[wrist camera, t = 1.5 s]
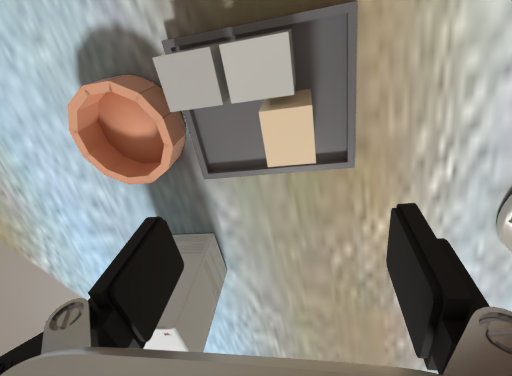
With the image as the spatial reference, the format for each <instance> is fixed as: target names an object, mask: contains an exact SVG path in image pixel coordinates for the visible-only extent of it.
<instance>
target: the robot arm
mask: <svg viewBox="0 0 512 376" xmlns="http://www.w3.org/2000/svg"><path fill="white" fill-rule="evenodd" d="M497 232H498V236H499V237H500V239H501V241H502V243H503V244H504V245H505V246H506V247H507V248H508V249H509V251H511V252H512V195H511V196H510V197H509V198H508V199H507V201H506V202H505V204H504V205H503V207H502V209H501V211H500V213H499V216H498V220H497ZM386 261H387V268H388V271H389V274H390V277H391V280H392V283H393V286H394V289H395V292H396V295H397V298H398V301H399V304H400V307H401V310H402V313H403V317H404V320H405V323H406V326H407V329H408V332H409V335H410V338H411V341H412V344H413V347H414V350H415V353H416V355H417V357H418V358H423V359H424V362H425V364H426V367H427V370H437V371H438V373H439V374H436V373H431V372H426V371H421V370H414V369H406V368H399V367H390V366H379V365H368V364H357V363H345V362H332V361H318V360H304V359H290V358H276V357H262V356H247V355H232V354H217V353H201V352H186V351H169V350H152V349H143V348H144V346H145V344H146V342H148V341H149V340H150V339H151V337H152V335H153V333H154V331H155V329H156V327H157V325H158V323H159V321H160V318H161V316H162V314H163V312H164V310H165V308H166V306H167V304H168V302H169V299H170V297H171V295H172V293H173V291H174V289H175V287H176V285H177V283H178V280H179V278H180V276H181V274H182V272H183V270H184V261H183V259H182V256H181V254H180V252H179V250H178V247H177V245H176V243H175V240H174V238H173V236H172V234H171V231H170V229H169V227H168V224H167V222H166V221H165V220H163V219H162V218H161V217H148V218H146V219H145V220H144V222H143V223H142V224H141V225H140V227H139V228H138V229H137V231H136V232H135V233H134V234H133V236H132V237H131V238H130V240H129V241H128V242H127V243H126V245H125V246H124V247H123V249H122V250H121V251H120V252H119V254H118V255H117V256H116V258H115V259H114V260H113V261H112V263H111V264H110V265H109V267H108V268H107V269H106V270H105V272H104V273H103V274H102V276H101V277H100V278H99V279H98V281H97V282H96V283H95V285H94V286H93V287H92V288H91V290H90V291H89V292H88V294H89V295H90V299H89V300H88V301H87V300H86V299H83V298H78V299H73V300H71V301H69V302H66V303H65V304H63V305H62V306H60V307H59V308H58V309H56V310H55V311H54V312H53V313H52V314H51V315H50V317H49V318H48V320H47V321H46V324H45V327H44V332H42V333H40V334H39V335H37V336H35V337H33V338H32V339H30V340H28V341H27V342H25V343H23V344H21V345H20V346H18V347H16V348H14V349H13V350H11V351H9V352H8V353H6V354H4V355H2V356H1V357H0V376H512V312H511V311H508V310H506V309H502V308H497V307H490V306H489V304H488V303H487V301H486V300H485V298H484V297H483V295H482V294H481V292H480V290H479V289H478V287H477V286H476V284H475V283H474V281H473V279H472V278H471V276H470V275H469V273H468V272H467V270H466V269H465V267H464V265H463V264H462V262H461V261H460V259H459V258H458V256H457V254H456V253H455V251H454V250H453V248H452V247H451V245H450V243H449V242H448V241H447V240H446V239H444V238H443V239H437V238H436V236H435V235H434V233H433V231H432V230H431V228H430V226H429V225H428V223H427V221H426V220H425V218H424V216H423V215H422V213H421V211H420V210H419V208H418V206H417V205H416V204H415V203H408V204H398V205H397V208H392V210H391V218H390V228H389V239H388V249H387V259H386Z"/></svg>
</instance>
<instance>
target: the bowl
mask: <svg viewBox="0 0 512 376" xmlns="http://www.w3.org/2000/svg"><path fill="white" fill-rule="evenodd" d="M68 116H69V132H70V133H71V135H72V137H73V139H74V141H75V142H76V144H77V146H78V148H79V150H80V152H81V153H82V155H83V157H85V158H86V159H87V160H88V161H89V162H90V163H91V164H93V165H94V166H95V167H96V168H97V169H98V170H99V171H101V172H102V173H103V174H104V175H106V176H108V177H111V178H114V179H116V180H119V181H122V182H124V183H127V184H142V183H152V182H154V181H155V180H156V179H157V178H159V177H160V176H161V175H162V174H163V173H165V172H166V171H167V170H168V169H169V168H170V167H171V166H172V165H173V163H174V162H175V161H176V160H177V159H178V158H179V157H180V155H181V152H182V150H183V148H184V144H185V140H186V128H185V123H184V119H183V116H182V114H181V112H180V111H176V112H170V109H169V106H168V103H167V100H166V97H165V94H164V91H163V89H162V88H161V87H160V86H159V85H157V84H155V83H154V82H152V81H150V80H148V79H146V78H143V77H140V76H135V75H130V74H127V75H119V76H115V77H110V78H105V79H102V80H99V81H95V82H92V83H89V84H86V85H83V86H81V88H80V89H79V91H78V92H77V93H76V95H75V96H74V97H73V99H72V100H71V101H70V103H69V104H68Z"/></svg>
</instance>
